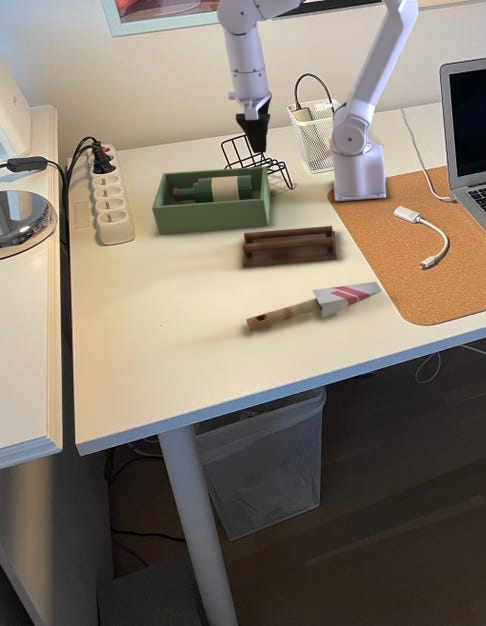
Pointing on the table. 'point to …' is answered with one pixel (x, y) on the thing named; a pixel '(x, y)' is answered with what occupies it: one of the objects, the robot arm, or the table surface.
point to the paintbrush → (318, 304)
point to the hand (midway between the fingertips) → (260, 143)
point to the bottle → (218, 190)
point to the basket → (214, 213)
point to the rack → (289, 246)
